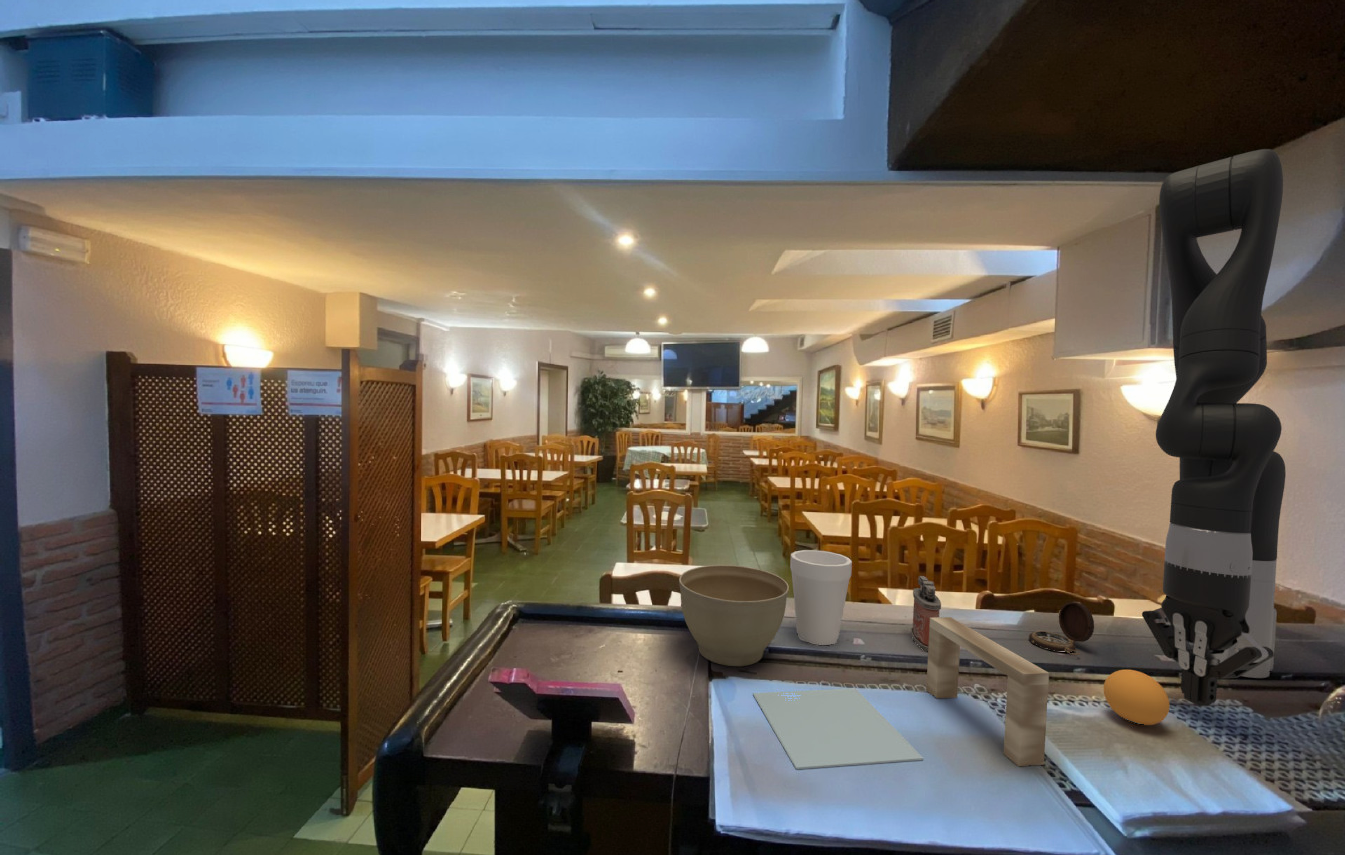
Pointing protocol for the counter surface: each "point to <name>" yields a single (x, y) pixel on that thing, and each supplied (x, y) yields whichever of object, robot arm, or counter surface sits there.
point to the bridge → (1022, 685)
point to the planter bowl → (732, 611)
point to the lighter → (924, 611)
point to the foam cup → (819, 593)
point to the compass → (1067, 629)
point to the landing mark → (833, 729)
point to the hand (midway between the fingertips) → (1197, 702)
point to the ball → (1136, 697)
